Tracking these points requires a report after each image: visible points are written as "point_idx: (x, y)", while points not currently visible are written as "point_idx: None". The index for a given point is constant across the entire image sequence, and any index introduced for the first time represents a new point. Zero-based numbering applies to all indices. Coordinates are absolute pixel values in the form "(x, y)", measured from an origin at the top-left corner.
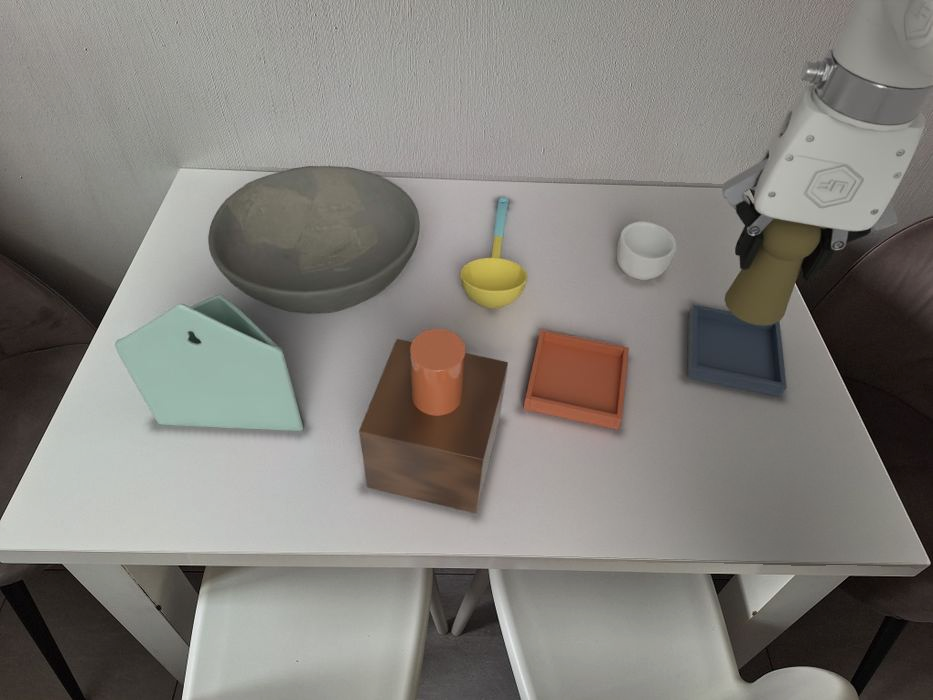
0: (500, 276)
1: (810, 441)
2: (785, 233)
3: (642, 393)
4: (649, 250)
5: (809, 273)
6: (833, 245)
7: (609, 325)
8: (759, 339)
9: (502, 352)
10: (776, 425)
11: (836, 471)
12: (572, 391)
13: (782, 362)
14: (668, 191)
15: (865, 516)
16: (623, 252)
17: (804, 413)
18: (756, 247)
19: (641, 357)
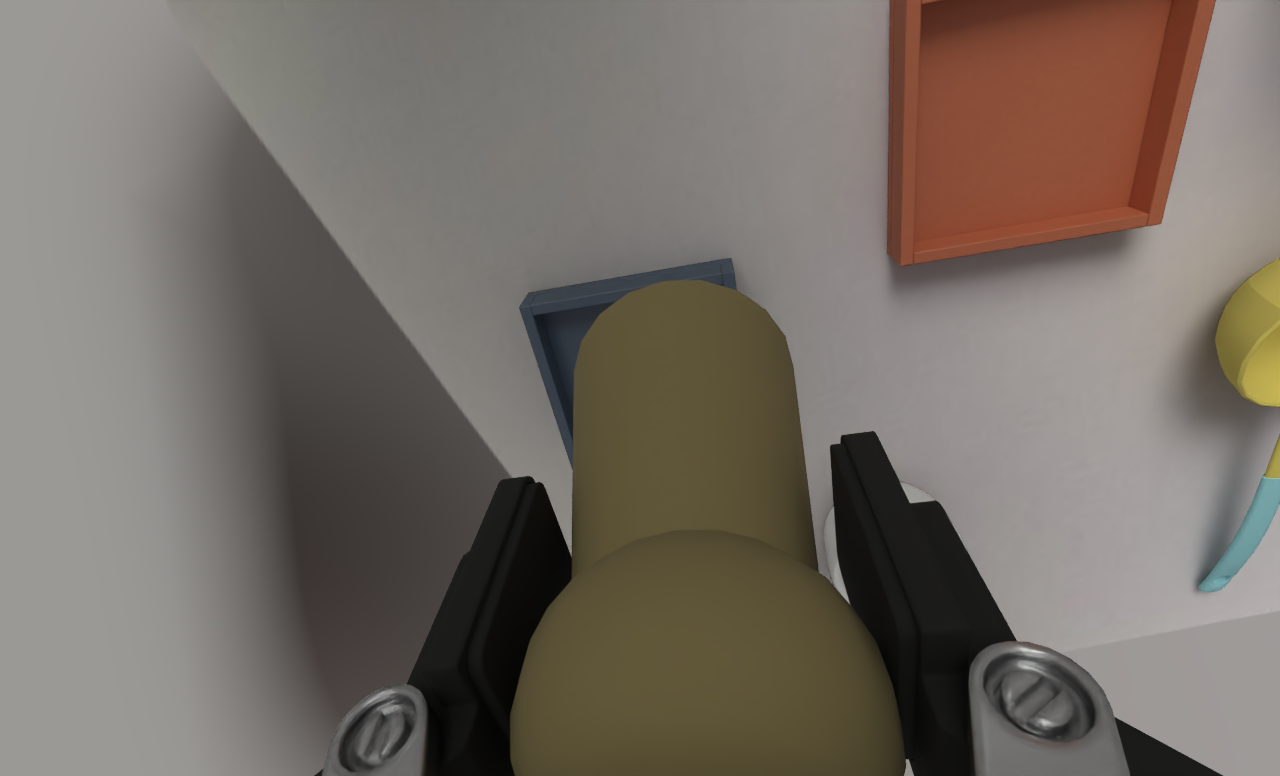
0: (1263, 363)
1: (438, 199)
2: (779, 736)
3: (832, 160)
4: None
5: (520, 509)
6: (412, 716)
7: (932, 335)
8: None
9: (1248, 122)
10: (515, 211)
11: (365, 139)
12: (1039, 61)
13: (543, 370)
14: None
15: (271, 33)
16: (952, 524)
17: (470, 272)
18: (904, 560)
19: (845, 272)
